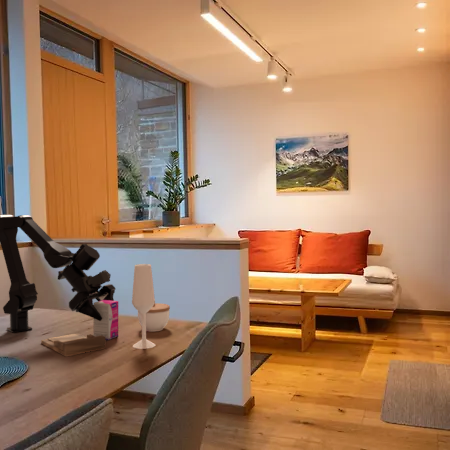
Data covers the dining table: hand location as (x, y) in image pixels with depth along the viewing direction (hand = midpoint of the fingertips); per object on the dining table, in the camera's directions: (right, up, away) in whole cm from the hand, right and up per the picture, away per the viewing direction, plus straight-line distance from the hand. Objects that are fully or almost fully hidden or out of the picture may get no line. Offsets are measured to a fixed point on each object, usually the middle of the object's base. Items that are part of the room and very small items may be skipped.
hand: (109, 316), depth 164 cm
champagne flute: (+12, -7, -9) cm, 17 cm away
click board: (-9, -7, -8) cm, 14 cm away
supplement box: (-1, -7, +1) cm, 7 cm away
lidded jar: (+12, -6, +11) cm, 18 cm away
